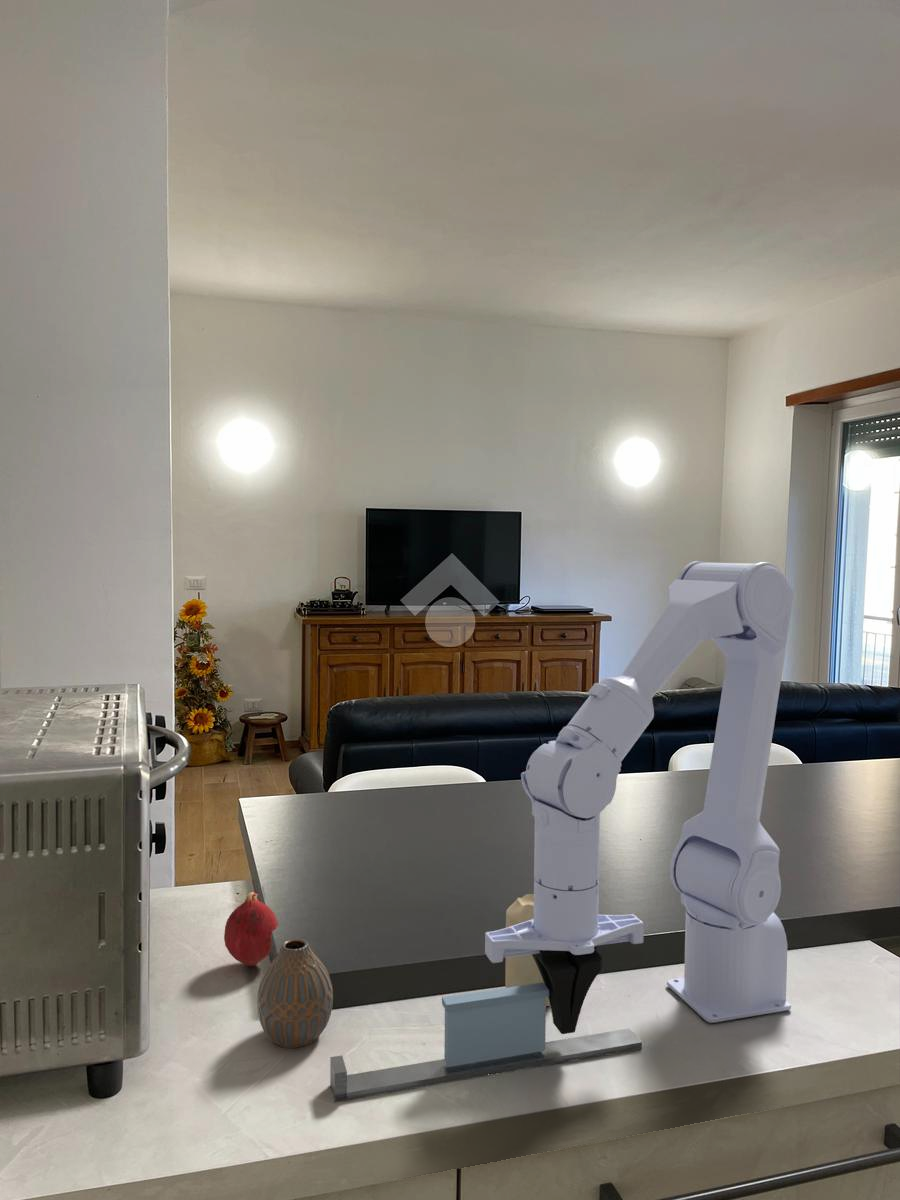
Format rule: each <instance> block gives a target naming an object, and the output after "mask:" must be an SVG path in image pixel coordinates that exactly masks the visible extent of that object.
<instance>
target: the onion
mask: <svg viewBox="0 0 900 1200" xmlns="http://www.w3.org/2000/svg"><path fill="white" fill-rule="evenodd" d="M277 921H278V918H277V916H276V914H275V913H274V911H273V909H271V908H270V907H269V906H268V905H267V904H265V903H264V902H262V901H259V899H258V893H256V892H254V891H251V892H249V893H247V896H246V898H245V900H244V902H243V903H241V904H240V905H238V906H237V907H235V908H234V910H233V911H232V912H231V913H230V914H229V916H228V918H227V919H226V922H225V927H224V933H223V935H224V936H223V939H224V946H225V947H226V949H227V951H228V953H229V954H230V955H231V956H232V958H233V959H235V960H236V961H237V962H240V963H241V964H243V965H245V966H247V967H255V966H257V965H258V964H259V963H260V962H261V961H263V960H264V959H266V957H268V955H269V954H270V953H271V952H270V947H271V935H272V931H273V930H275V929H276V927H277V926H278V927H279V922H277Z"/></svg>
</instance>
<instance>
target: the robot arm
mask: <svg viewBox="0 0 900 1200" xmlns="http://www.w3.org/2000/svg"><path fill="white" fill-rule="evenodd" d="M794 597H795V591H794V589H793V588H792V586H791V584H790V582H789V581H788V580H787V578H786V576H785V574H784V573H783V571H782V570H781V568H780V567H778V566H777V565H776V564H774V563H772V562H767V561H766V562H764V561H760V562H757V563H749V562H748V563H747V562H746V563H742V562H741V563H740V562H738V563H736V562H707V561H701V560H695V561H691V562H690V563H688V564H686V565H684V566H683V568H682V569H681V570H680V572H679V573H678V574H677V577H676V579H675V580H674V581H672V582H671V583H670V584H669V585H668V587H667V605H666V607H665V608H664V609H663V611H662V613H661V614H660V616H659V617H658V619H657V620H656V622H655V623H654V624H653V627H652V628H651V629H650V631H649V632H648V634H647V636H646V637H645V639H644V640H643V642H641V645H640V647H638V648H637V651H636V653H635V654H633V655H634V656H633V657H632V658H631V660H630V662H629V663H628V664H627V666H626V667H625V669H624V670H623V672H622V674H621V675H619V676H614V677H612V676H611V677H605V678H603V679H601V680H600V682H599V683H598V682H595V683H593V685H592V686H591V688H589V690H588V691H587V693H588V695H589V696H588V698H587V699H586V700H585V701H584V702H583V704H582V705H581V707H580V708H579V709H578V711H577V712H575V714H574V715H573V716H572V718H571V720H570V721H569V722H568V723H567V725H566V726H563V727H562V729H561V730H560V731H559V732H558V736H557V737H556V739H555V740H550V741H548V742H547V743H546V742H545V743H543V744H542V745H540V746H539V747H538V748H537V749H535V750H534V751H533V752H532V754H531V755H530V757H529V758H528V761H527V764H526V767H525V771H523V772H521V773H520V777H521V778H520V779H521V783H522V784H521V785H522V787H523V791H524V792H525V793H526V795H527V796H528V797H529V799H530V801H531V816H533V817H534V847H533V848H534V852H533V853H534V855H533V856H534V861H533V862H534V865H533V868H534V869H533V872H534V873H533V894H534V919H532V920H529V921H525V922H522V923H519V924H516V925H513V926H510V927H507V928H506V927H505V928H501V929H497V930H493V931H486V932H485V933H484V935H485V936H484V954H485V955H486V957H487V958H488V959H489V961H490V962H491V964H497V963H502V962H503V961H504V958H505V959H506V958H507V957H514V956H522V955H529V954H532V956H533V958H534V960H535V962H536V964H537V966H538V969H539V971H540V973H541V976H542V979H543V981H544V984H545V986H546V987H547V988H548V989H549V997H548V998H549V1002H550V1006H549V1007H550V1011H551V1016H552V1023H553V1025H554V1026H555V1027H556V1029H557V1030H558V1032H559V1033H560V1034H561V1035H565V1034H573V1033H575V1032H576V1029H577V1025H578V1021H579V1019H580V1018H579V1017H580V1014H581V1011H582V1007H583V1004H584V1002H585V998H586V997H587V995H588V991H589V990H590V988H591V986H592V984H593V983H594V981H595V979H596V978H597V976H598V974H599V973H600V972H601V971H602V967H603V957H602V956H601V953H599V952H597V946H603V945H610V944H611V945H612V944H618V943H619V944H620V943H625V942H630V943H631V944H633V945H638V944H643V943H644V932H645V931H644V930H645V929H644V925H645V923H644V921H642V920H641V919H639V917H637V916H636V915H635V914H633V913H632V914H631V913H630V914H599V904H600V902H599V893H600V892H599V891H600V890H599V886H600V841H601V840H600V838H601V837H600V833H601V831H600V830H601V825H600V823H601V812H603V811H604V810H605V808H606V807H607V806H608V805H610V804H611V803H612V801H613V800H614V797H615V794H616V788H617V780H618V775H619V774H620V772H621V770H622V769H621V767H622V761H623V760H624V758H625V757H626V756H627V754H629V752H630V751H631V749H632V748H633V747H634V745H635V744H636V742H637V741H638V740H639V738H640V737H641V736H642V734H643V733H644V732H645V730H646V729H647V727H649V725H650V723H651V722H652V720H654V716H655V709H654V703H653V698H654V696H655V695H656V694H657V693H658V691H660V689H661V688H662V687H663V686H664V685H665V683H667V681H668V680H669V679H670V678H671V677H672V676H673V674H674V673H675V672H676V671H677V670H678V669H679V668H680V667H681V666H682V664H683V663H684V662H685V660H686V659H687V658H688V657H689V656H690V655H692V653H693V651H694V650H695V649H696V648H697V647H698V646H699V644H701V642H702V641H704V640H709V639H711V641H713V642H714V643H715V644H716V646H717V647H718V648H719V650H720V651H721V653H722V654H723V655H724V656H725V659H726V662H725V668H724V669H725V670H724V675H723V676H724V677H723V683H722V689H721V695H720V703H719V709H718V715H717V721H716V727H715V734H714V739H713V740H714V741H713V747H712V753H711V759H710V765H709V766H710V767H709V772H708V779H707V784H706V791H705V798H704V803H703V804H704V805H703V810H701V812H699V813H698V814H696V815H694V816H693V817H691V818H690V819H688V820H686V821H685V822H684V823H683V824H682V829H681V835H680V839H679V841H678V843H677V845H676V848H675V849H674V850H673V852H672V855H671V858H670V862H669V878H670V882H671V883H672V886H673V887H674V889H676V891H678V892H679V893H680V904H681V905H683V906H684V907H685V922H684V923H685V928H684V930H685V934H684V935H685V936H684V937H685V939H684V977H677V978H672V979H671V978H670V979H668V980H667V981H666V986H668V987H669V989H670V990H672V991H673V992H674V993H675V994H676V996H678V997H680V998H681V1000H683V1001H684V1002H685V1003H686V1004H687V1005H688V1006H689V1008H691V1009H693V1011H695V1013H697V1014H698V1015H699V1016H700V1017H701V1018H702V1019H703V1020H704V1021H705V1022H706V1023H711V1024H713V1023H714V1024H715V1023H720V1022H726V1021H732V1020H737V1019H744V1018H749V1017H755V1016H762V1015H767V1014H773V1013H779V1012H785V1011H786V1012H787V1011H790V1010H791V1009H792V1004H791V1003H790V1002H788V1001H787V977H788V976H787V971H788V941H787V939H788V938H787V934H786V932H785V931H786V930H785V928H784V925H783V923H782V921H781V919H780V918H779V916H778V915H777V914H776V913H775V910H776V909H777V907H778V905H779V902H780V899H781V893H782V882H781V876H780V872H779V861H780V853H781V850H780V848H779V846H778V845H777V843H776V842H775V841H774V840H773V838H772V837H771V836H770V835H769V833H768V832H767V831H766V829H765V828H764V827H763V826H762V823H761V812H762V806H763V800H764V794H765V793H764V792H765V786H766V780H767V775H768V767H769V761H770V754H771V749H772V742H773V741H772V740H773V735H774V728H775V721H776V715H777V709H778V701H779V695H780V689H781V682H782V677H783V670H784V662H785V656H786V650H787V649H786V648H787V642H788V637H789V636H788V635H789V628H790V621H791V616H792V610H793V602H794Z"/></svg>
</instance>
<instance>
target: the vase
mask: <svg viewBox="0 0 900 1200" xmlns="http://www.w3.org/2000/svg"><path fill="white" fill-rule="evenodd" d="M260 979H261V980H260V982H259V985H258V991H257V1000H256V1005H257V1007H256V1008H257V1015H258V1019H259V1020H258V1021H259V1022H260V1026H261V1028H262V1030H263V1031H264V1034H265V1035H267V1037H268V1038H269V1039H270V1040H271V1041H272V1042H274V1043H275V1044H277V1045H278V1046H280V1047H283V1048H288V1049H289V1048H290V1049H291V1048H292V1049H295V1048H302V1047H305V1046H307V1045H310V1044H311V1043H313V1042H314V1041H315V1040H317V1038H318V1037H320V1036H321V1034H322V1033H323V1032H324V1031H325V1029H326V1028H327V1025H328V1023H329V1022H330V1021H329V1020H330V1018H331V1014H332V1011H333V1005H334V1004H333V1002H334V994H333V993H334V991H333V984H332V981H331V978H330V974H329V971H328V969H327V968H326V966H325V964H324V963H323V962H322V961H321V960H320V958H319V957H318V956H317V955H316V954H315V953H314V952H313V950H312V949H311V946H310V944H309V942H308V941H307V940H306V939H303V938H293V939H287V940H285V941H284V942H283V943H282V945H281V946H280V949H279V952H278V954H276V956H275V957H274V959H273V960H272V961H271V962H270V964H269V965H268V966H267V968H266V969H265V971H264V973H263V975H262V976H261V978H260Z"/></svg>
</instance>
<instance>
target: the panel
mask: <svg viewBox="0 0 900 1200" xmlns="http://www.w3.org/2000/svg"><path fill="white" fill-rule="evenodd" d="M546 997H549V989H548V988H547V987H546V986H545V984H544V983H543V982H542V983H535V984H528V985H521V986H514V987H508V988H505V987H501V988H493V989H488V990H482V991H481V990H479V991H475V992H469V993H467V992H466V993H461V994H454V995H453V994H452V995H446V996H442V997H441V1005H442V1007H443V1008H444V1058H443V1059H444V1061H445V1063H446V1065H447V1067H451V1066H457V1065H463V1064H469V1063H475V1062H481V1061H487V1060H493V1059H499V1058H505V1057H511V1056H516V1055H522V1054H528V1053H534V1052H540V1051H545V1042H546V1024H547V1023H546V1019H547V1018H546V1016H547V1015H546V1014H547V1013H546V1009H547V1007H546Z"/></svg>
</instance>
